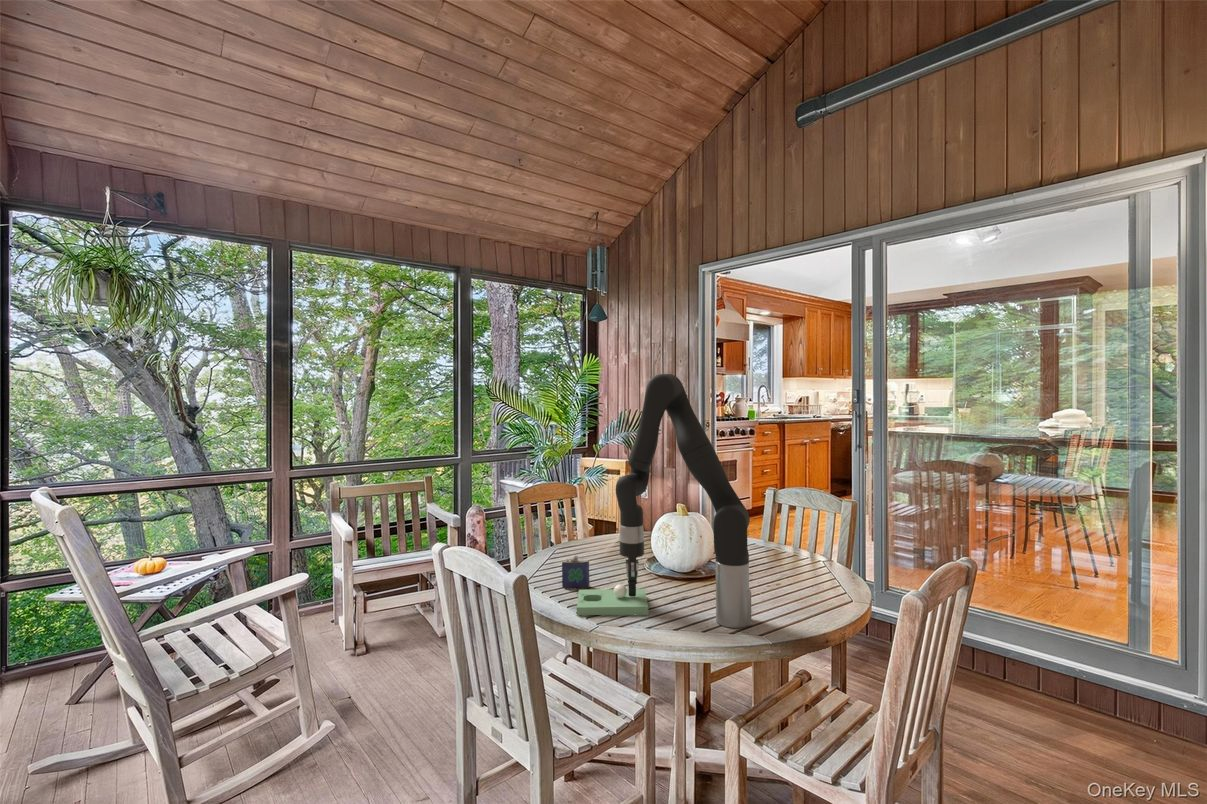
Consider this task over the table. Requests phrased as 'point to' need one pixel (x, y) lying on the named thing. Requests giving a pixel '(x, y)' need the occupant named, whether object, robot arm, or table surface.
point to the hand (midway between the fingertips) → (632, 595)
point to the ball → (620, 591)
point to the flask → (575, 573)
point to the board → (611, 603)
